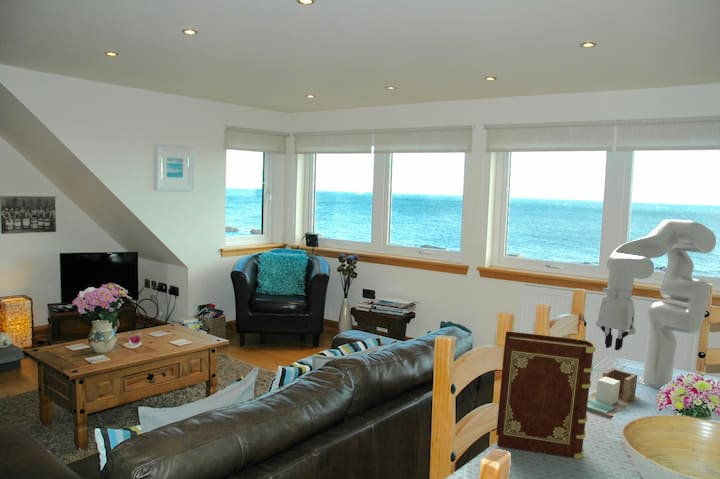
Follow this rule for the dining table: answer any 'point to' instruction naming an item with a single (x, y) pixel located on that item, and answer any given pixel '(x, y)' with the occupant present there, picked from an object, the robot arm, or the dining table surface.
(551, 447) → the decorative book
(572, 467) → the dining table surface
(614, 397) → the carton
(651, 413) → the dining table surface
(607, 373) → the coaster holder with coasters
